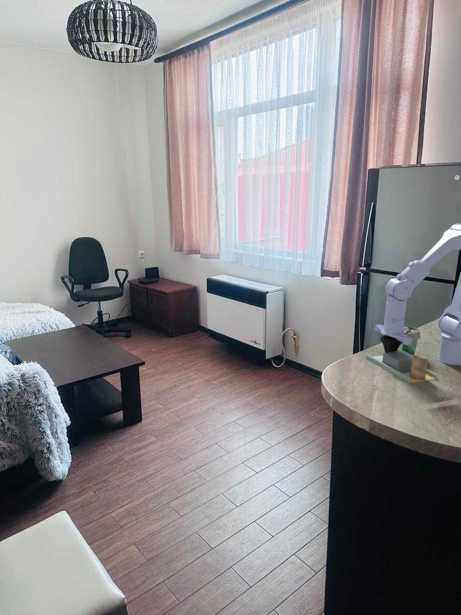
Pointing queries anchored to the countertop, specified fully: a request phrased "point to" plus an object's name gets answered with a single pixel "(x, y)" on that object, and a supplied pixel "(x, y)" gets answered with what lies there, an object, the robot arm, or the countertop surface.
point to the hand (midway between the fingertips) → (389, 359)
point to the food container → (415, 335)
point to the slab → (398, 360)
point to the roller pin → (418, 367)
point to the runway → (403, 376)
